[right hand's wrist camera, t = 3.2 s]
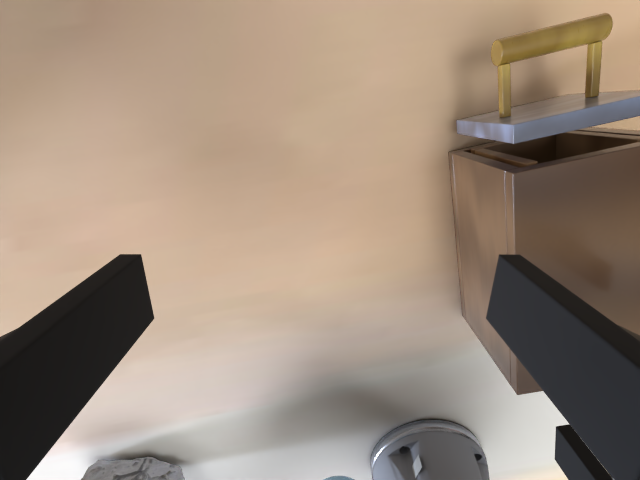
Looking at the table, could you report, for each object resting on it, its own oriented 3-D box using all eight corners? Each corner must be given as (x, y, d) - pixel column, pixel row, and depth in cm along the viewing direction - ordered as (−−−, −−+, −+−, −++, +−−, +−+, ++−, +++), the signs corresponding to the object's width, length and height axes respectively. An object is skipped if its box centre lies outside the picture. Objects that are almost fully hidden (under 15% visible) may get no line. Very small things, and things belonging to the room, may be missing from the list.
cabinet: (448, 152, 32) (512, 173, 21) (566, 125, 31) (696, 133, 20) (462, 315, 39) (517, 395, 28) (560, 297, 38) (656, 372, 27)
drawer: (451, 55, 28) (511, 30, 19) (570, 25, 28) (690, -14, 19) (468, 288, 36) (517, 346, 27) (561, 270, 35) (642, 323, 27)
